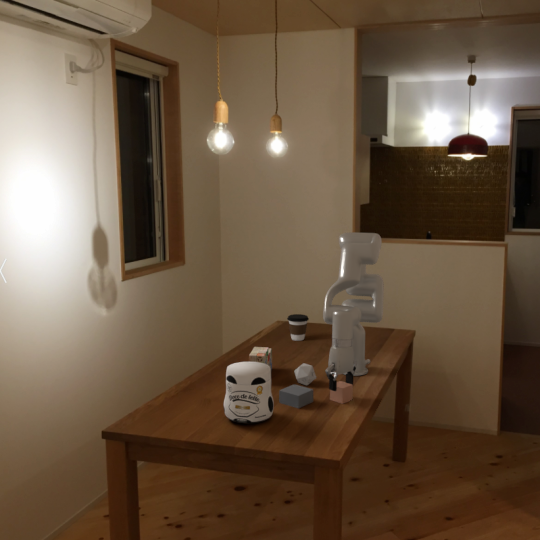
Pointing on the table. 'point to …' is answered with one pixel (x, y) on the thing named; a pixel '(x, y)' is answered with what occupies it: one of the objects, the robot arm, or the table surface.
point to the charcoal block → (296, 396)
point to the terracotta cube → (342, 392)
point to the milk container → (248, 392)
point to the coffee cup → (297, 326)
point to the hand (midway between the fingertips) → (341, 387)
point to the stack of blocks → (261, 355)
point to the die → (305, 374)
